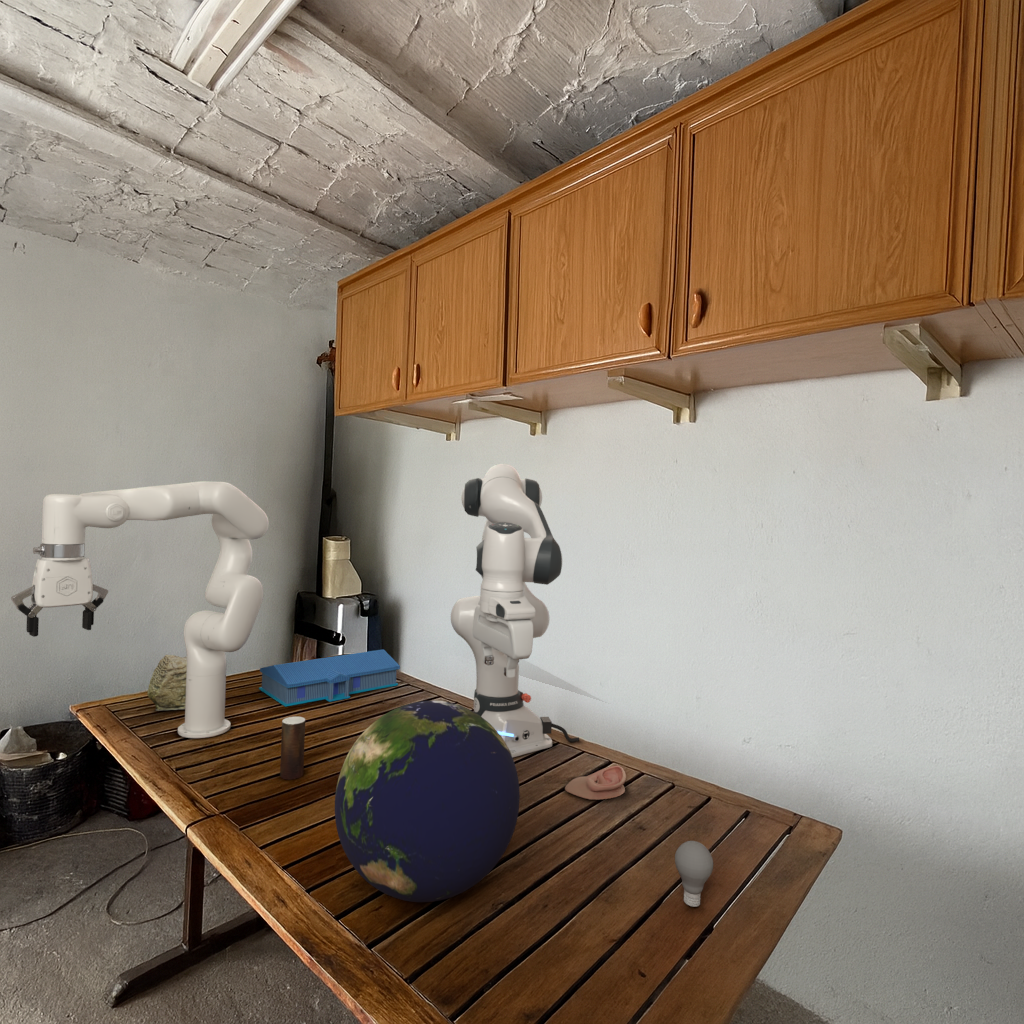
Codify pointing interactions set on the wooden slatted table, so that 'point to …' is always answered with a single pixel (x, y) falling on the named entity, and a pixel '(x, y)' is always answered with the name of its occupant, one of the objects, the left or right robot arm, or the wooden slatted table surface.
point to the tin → (292, 748)
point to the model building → (329, 677)
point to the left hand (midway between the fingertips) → (60, 632)
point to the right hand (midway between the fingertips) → (498, 670)
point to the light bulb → (693, 869)
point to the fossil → (169, 683)
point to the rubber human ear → (599, 784)
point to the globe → (427, 801)
